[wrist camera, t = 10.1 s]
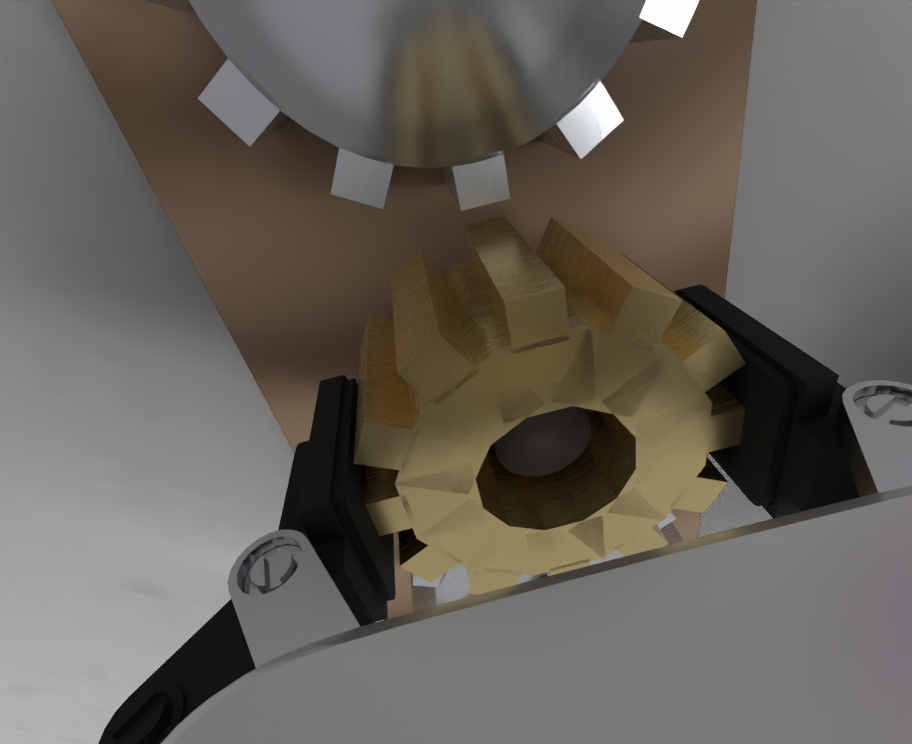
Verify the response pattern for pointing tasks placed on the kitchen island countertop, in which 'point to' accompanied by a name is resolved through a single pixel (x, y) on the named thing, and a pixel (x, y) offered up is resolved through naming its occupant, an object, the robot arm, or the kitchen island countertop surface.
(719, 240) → the gear board
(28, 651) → the kitchen island countertop surface
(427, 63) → the gear
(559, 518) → the brass gear
